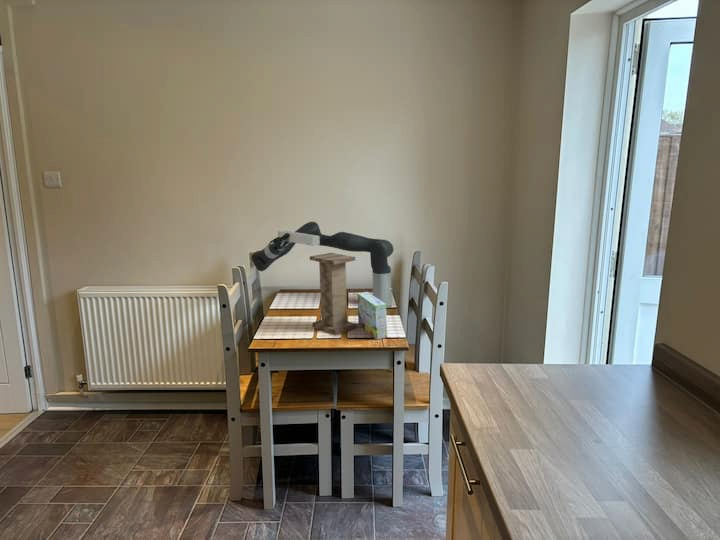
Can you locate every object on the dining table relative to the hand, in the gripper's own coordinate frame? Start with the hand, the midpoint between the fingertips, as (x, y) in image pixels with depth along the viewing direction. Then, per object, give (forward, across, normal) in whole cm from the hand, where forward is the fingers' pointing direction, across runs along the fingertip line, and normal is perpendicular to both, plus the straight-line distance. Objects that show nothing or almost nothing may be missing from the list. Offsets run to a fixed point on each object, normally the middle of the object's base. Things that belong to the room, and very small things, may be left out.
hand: (292, 234), depth 225 cm
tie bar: (+2, 0, +5) cm, 6 cm away
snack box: (+18, +8, +56) cm, 60 cm away
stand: (+5, 0, +48) cm, 48 cm away
